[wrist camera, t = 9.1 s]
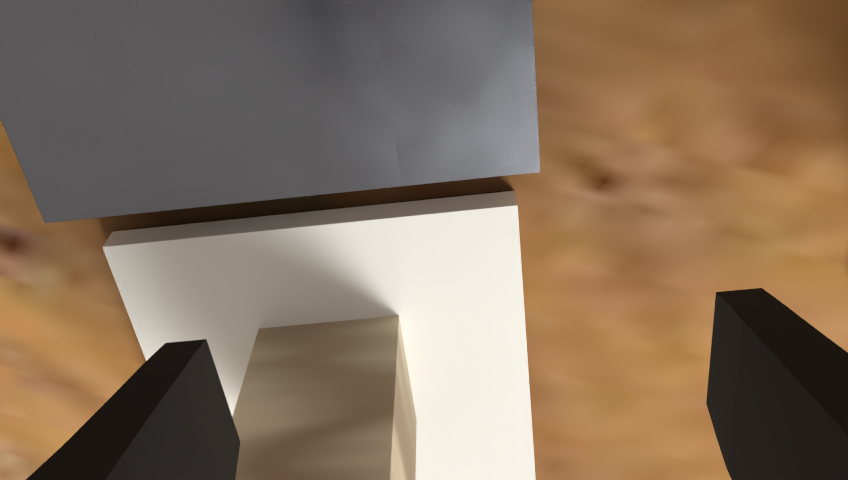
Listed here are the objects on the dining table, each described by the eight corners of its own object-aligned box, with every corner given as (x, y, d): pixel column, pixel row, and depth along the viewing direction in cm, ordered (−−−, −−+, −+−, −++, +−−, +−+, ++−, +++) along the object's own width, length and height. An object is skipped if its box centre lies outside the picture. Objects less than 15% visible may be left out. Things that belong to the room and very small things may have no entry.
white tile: (514, 190, 21) (517, 205, 20) (534, 479, 27) (536, 497, 26) (112, 231, 22) (102, 247, 21) (214, 503, 27) (208, 522, 27)
